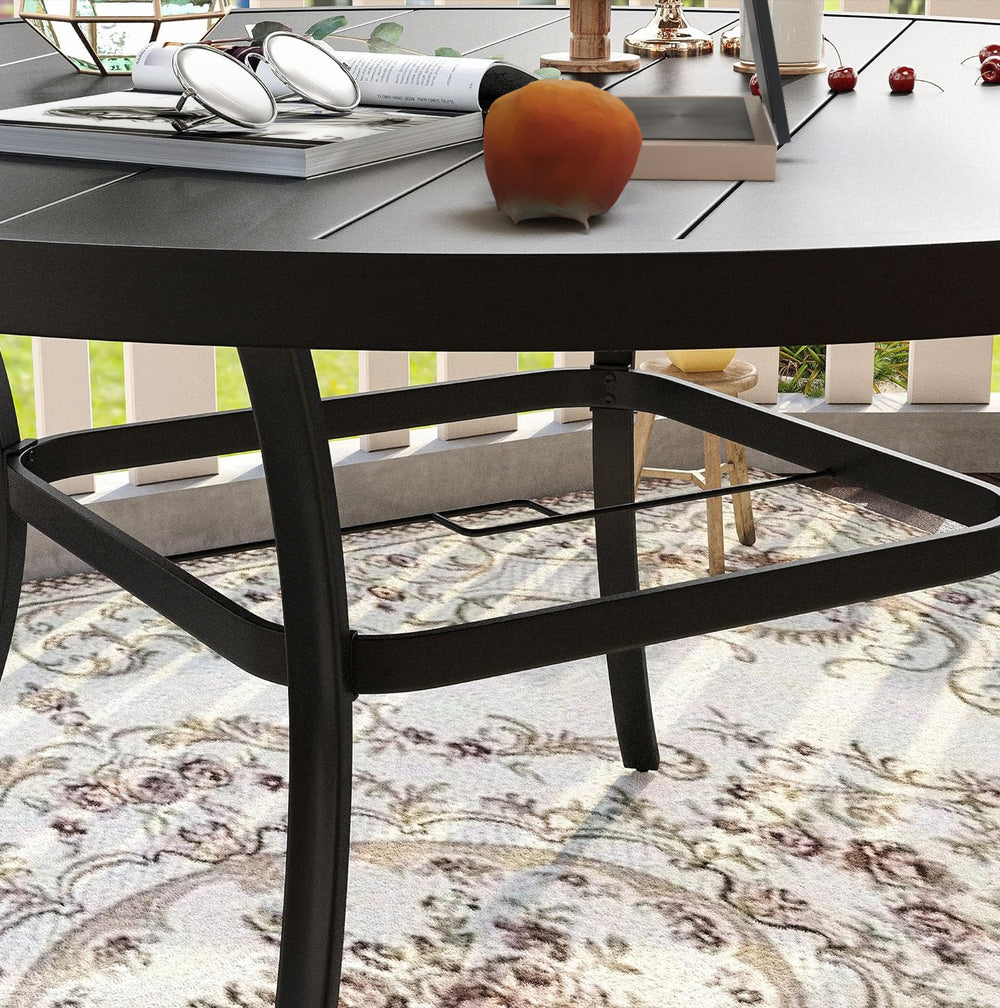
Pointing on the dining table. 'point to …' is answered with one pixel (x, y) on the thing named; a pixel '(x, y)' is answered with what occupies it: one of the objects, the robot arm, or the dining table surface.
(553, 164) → the fruit
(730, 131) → the beige flat box
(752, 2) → the laptop screen
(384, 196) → the dining table surface
